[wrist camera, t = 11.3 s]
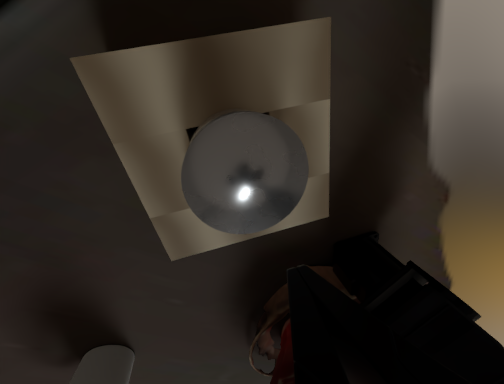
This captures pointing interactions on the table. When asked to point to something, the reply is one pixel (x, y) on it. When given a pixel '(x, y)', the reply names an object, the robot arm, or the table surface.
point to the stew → (284, 329)
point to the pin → (243, 171)
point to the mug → (105, 366)
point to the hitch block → (206, 104)
